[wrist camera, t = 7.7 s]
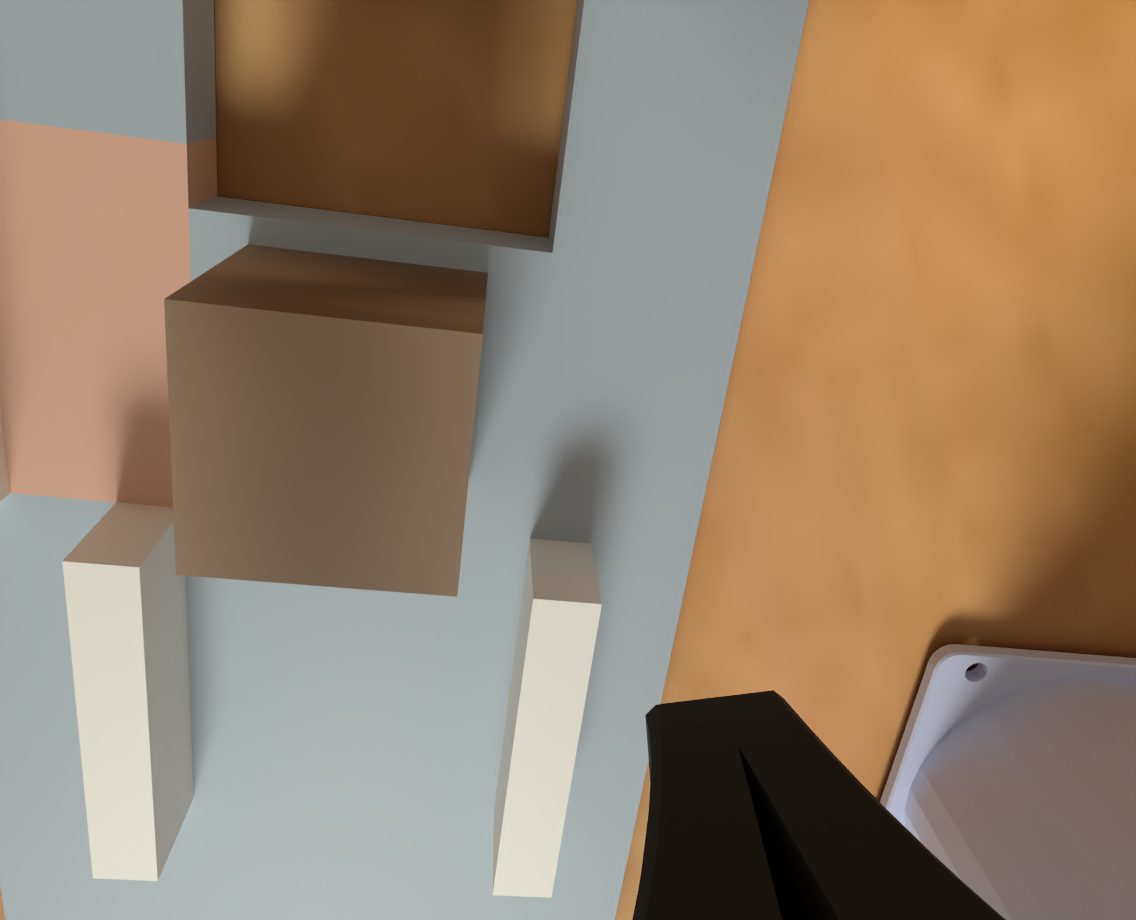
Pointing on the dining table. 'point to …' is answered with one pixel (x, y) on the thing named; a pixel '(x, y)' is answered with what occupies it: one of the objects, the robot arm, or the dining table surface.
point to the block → (323, 419)
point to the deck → (342, 615)
